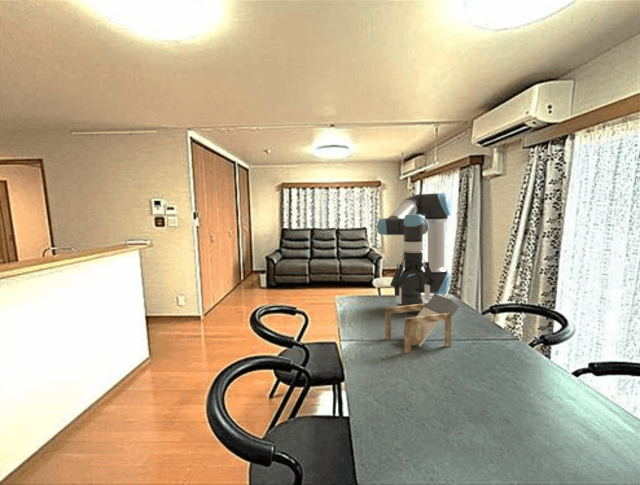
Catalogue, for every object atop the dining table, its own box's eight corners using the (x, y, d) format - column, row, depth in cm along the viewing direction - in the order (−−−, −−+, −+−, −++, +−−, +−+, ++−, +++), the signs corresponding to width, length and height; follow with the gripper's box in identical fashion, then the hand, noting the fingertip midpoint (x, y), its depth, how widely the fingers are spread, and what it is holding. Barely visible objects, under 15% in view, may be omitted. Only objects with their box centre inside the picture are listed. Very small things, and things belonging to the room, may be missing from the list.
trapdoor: (440, 299, 163) (433, 293, 161) (460, 307, 149) (453, 300, 148) (409, 341, 159) (401, 334, 158) (427, 352, 146) (419, 345, 145)
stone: (425, 322, 152) (418, 316, 150) (422, 343, 144) (415, 337, 143) (409, 327, 157) (403, 321, 156) (406, 348, 150) (399, 342, 149)
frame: (426, 332, 164) (426, 303, 163) (451, 346, 147) (451, 313, 146) (385, 338, 158) (385, 307, 156) (406, 353, 141) (406, 319, 140)
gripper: (433, 248, 156) (433, 296, 158) (382, 252, 148) (382, 302, 150) (444, 250, 148) (443, 300, 150) (390, 254, 141) (391, 306, 143)
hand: (413, 301), depth 150 cm, fingers open, 13 cm apart
